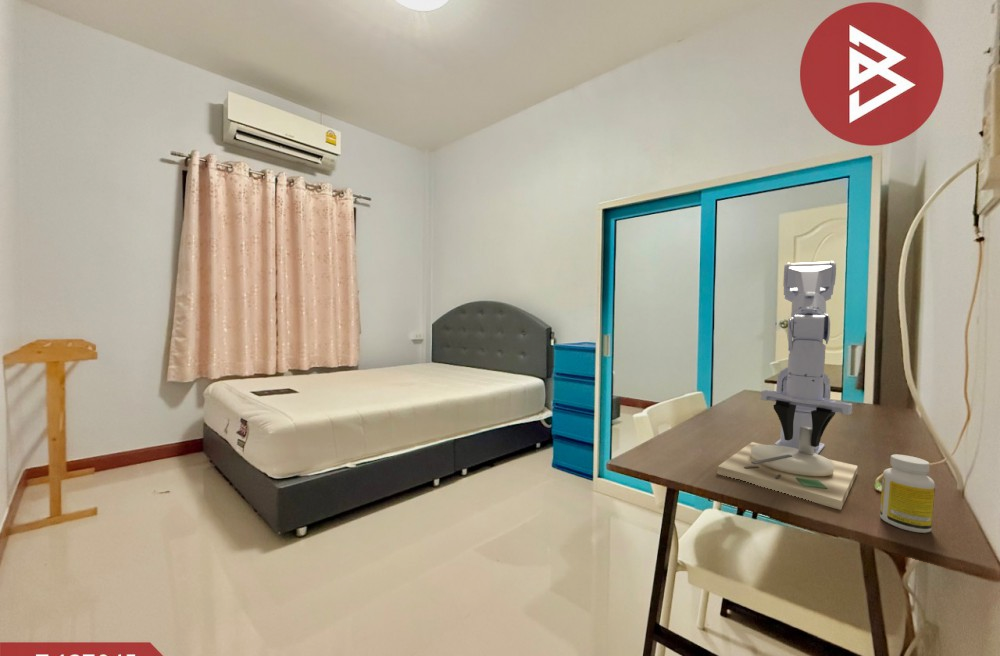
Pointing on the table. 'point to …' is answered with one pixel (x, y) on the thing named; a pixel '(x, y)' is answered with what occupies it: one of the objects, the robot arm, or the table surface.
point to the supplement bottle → (907, 494)
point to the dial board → (792, 479)
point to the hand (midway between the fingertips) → (801, 442)
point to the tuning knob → (794, 457)
